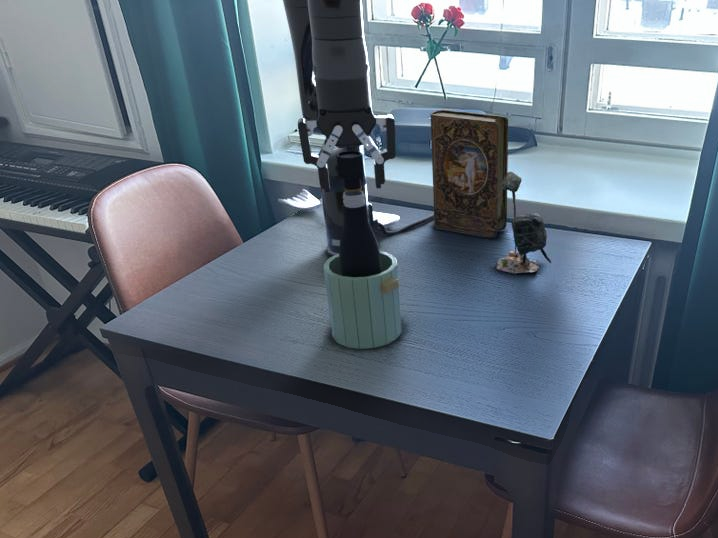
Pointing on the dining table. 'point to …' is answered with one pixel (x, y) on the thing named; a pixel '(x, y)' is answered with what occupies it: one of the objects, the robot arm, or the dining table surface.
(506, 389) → the dining table surface
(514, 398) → the dining table surface
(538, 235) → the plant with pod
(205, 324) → the dining table surface
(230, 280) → the dining table surface
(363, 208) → the wine bottle
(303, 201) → the serving fork
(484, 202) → the book
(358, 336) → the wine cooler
